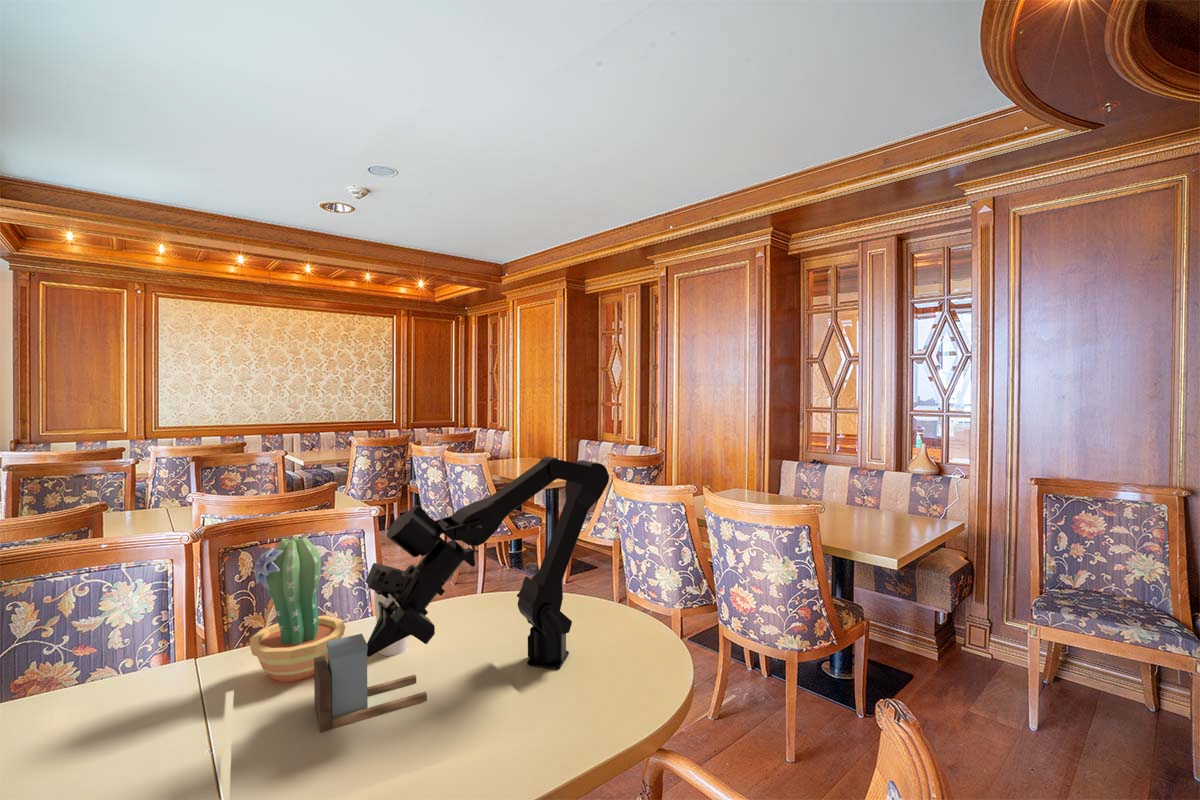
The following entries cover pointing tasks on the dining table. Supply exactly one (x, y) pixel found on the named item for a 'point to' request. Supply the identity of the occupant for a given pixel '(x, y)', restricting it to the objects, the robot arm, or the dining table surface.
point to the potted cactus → (293, 612)
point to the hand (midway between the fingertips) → (365, 654)
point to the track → (325, 695)
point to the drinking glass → (397, 646)
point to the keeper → (348, 674)
